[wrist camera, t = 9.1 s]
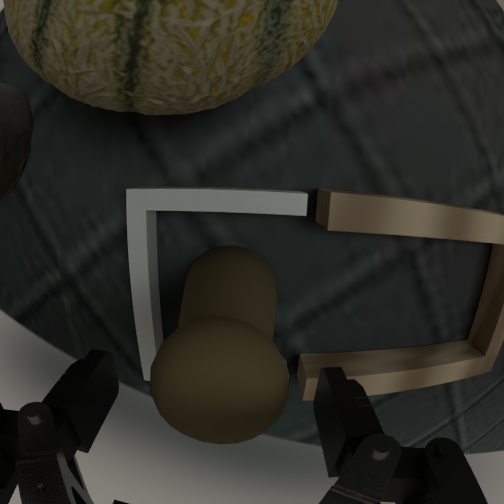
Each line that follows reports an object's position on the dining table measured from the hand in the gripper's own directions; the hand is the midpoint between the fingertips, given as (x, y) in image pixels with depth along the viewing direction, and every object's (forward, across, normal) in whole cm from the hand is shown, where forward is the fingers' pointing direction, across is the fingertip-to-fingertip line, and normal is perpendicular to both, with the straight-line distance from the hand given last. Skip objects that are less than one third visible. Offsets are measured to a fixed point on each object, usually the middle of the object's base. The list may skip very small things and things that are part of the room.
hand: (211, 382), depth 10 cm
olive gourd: (+10, 0, 0) cm, 10 cm away
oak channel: (+10, -14, 0) cm, 17 cm away
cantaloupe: (+10, +3, -17) cm, 20 cm away
